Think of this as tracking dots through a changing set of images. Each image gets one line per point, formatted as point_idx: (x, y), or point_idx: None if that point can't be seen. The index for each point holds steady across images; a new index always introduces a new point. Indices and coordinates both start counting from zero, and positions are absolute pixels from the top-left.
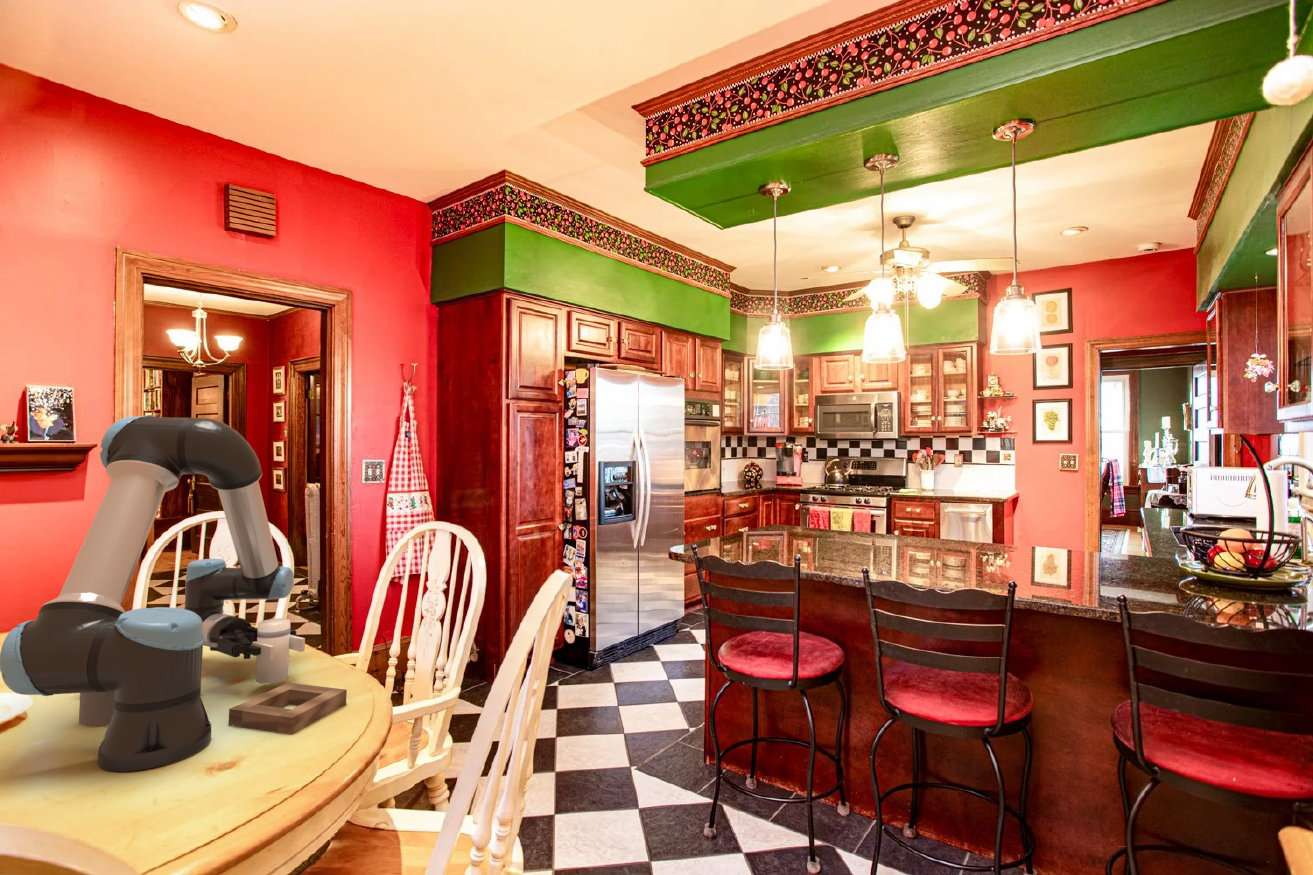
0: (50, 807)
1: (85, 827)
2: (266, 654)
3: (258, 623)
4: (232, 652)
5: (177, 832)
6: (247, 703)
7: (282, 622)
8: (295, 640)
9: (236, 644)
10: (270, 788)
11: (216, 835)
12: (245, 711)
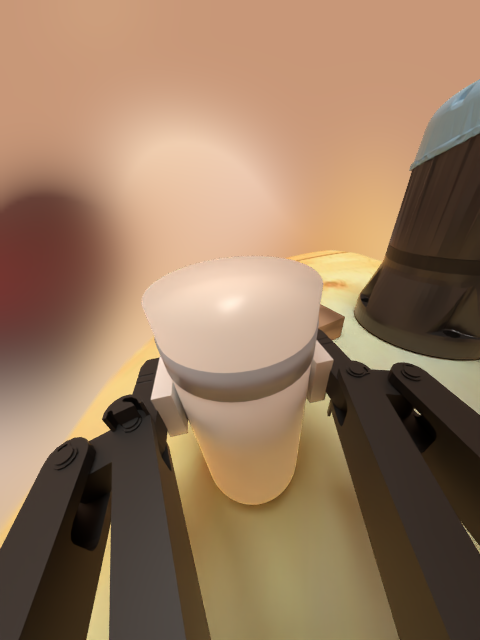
0: None
1: None
2: None
3: (319, 286)
4: (422, 416)
5: (347, 258)
6: (319, 320)
7: (208, 268)
8: None
9: (412, 369)
10: None
11: (329, 255)
12: (321, 305)
